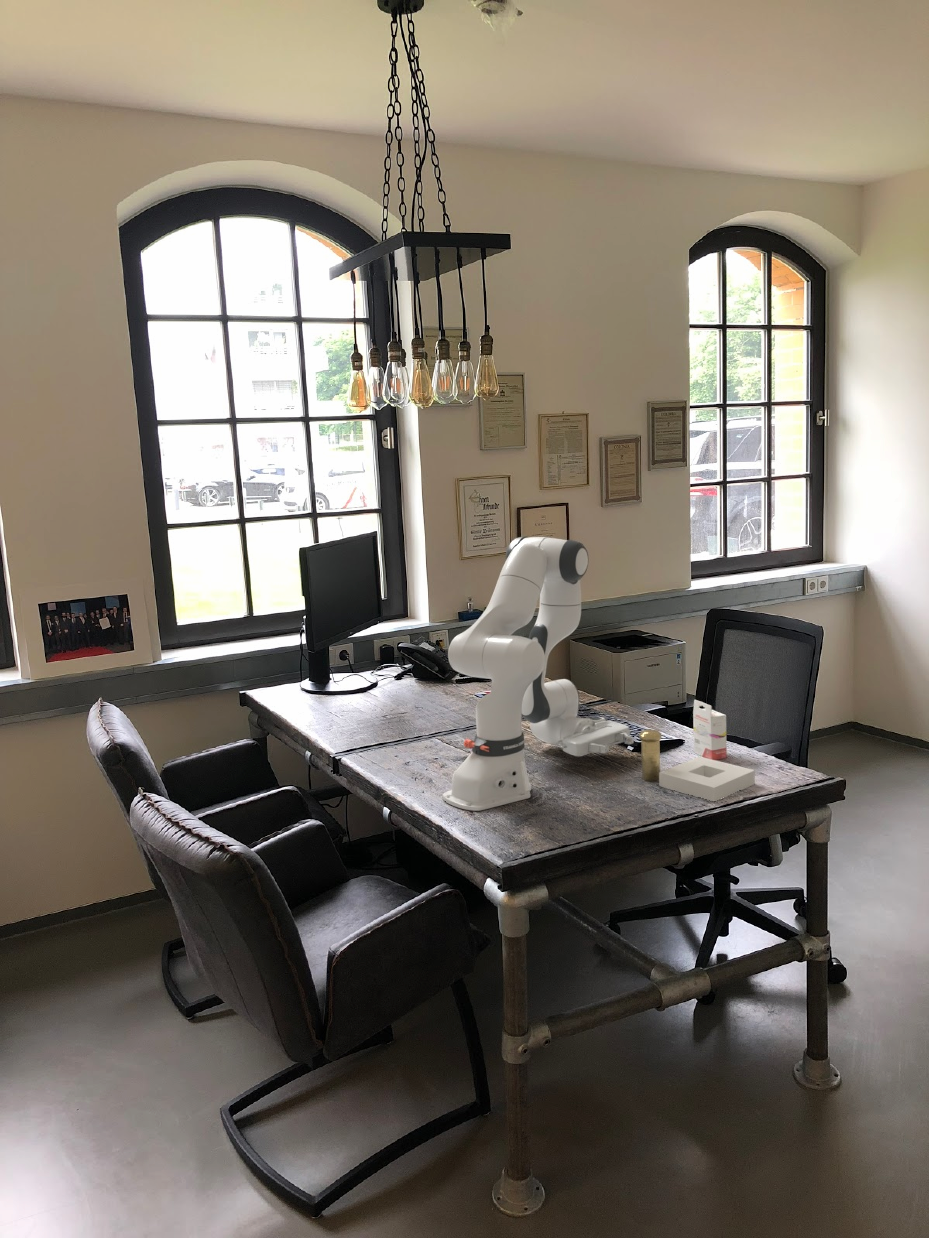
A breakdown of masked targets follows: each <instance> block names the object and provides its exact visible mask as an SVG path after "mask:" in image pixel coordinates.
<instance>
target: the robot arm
mask: <svg viewBox="0 0 929 1238" xmlns="http://www.w3.org/2000/svg"><path fill="white" fill-rule="evenodd" d="M588 553H589V552H588V550H587V549H586V547H585V544H584V543H582V542H580V541H577V540H573V539H568V540H566V539H561V538H555V537H550V536H532V537H531V536H530V537H529V536H519V537H515V538H514V539H513V540H512V541H510V543H509V544H508V546H507V547H506V552H505V562H504V564H503V566H502V568H501V571H500V573H499V576H498V579H497V581H496V585H495V587H494V590H493V593H492V595H491V597H490V601H489V603H488V605H487V606H486V608H485V610H484V611H483V612H482V614H481V615H480V616H479V618H478V619H477V620H476V621H475V622H474V623H473V624H472V625H470V627H469V628H467V629H466V630H464V631H463V632H461V633H459V634H457V635H456V636H454V638H453V639H451V642H450V644H449V647H448V650H447V658H448V662H449V665H450V667H451V668H452V669H453V670H454V671H455V672H458V673H459V674H462V675H465V676H468V677H472V678H479V679H489V680H491V689H490V692H489V693H487V694H485V695H483V696H482V697H481V698H480V699H479V700H478V702H477V703H476V705H475V724H476V725H475V726H476V734H475V736H474V740H471V739H468V738H466V739H464V741H463V746H464V747H465V748H468V749H471V752H470V754H469V755H468V756H467V757H466V758H465V760H464V761H463V762H462V763H461V764H460V765H459V767H458V768H457V769H456V770H454V772H453V775H452V778H451V789H450V790H447V791H446V792H444V793H442V797H443V798H442V800H443V801H444V802H445V801H446V802H445V803H447V804H449V805H452V806H453V807H456V808H459V809H463V810H467V811H475V812H476V811H477V812H479V811H484V810H488V809H492V808H496V807H499V806H503V805H508V804H511V803H515V802H519V801H522V800H527V799H529V798H531V790H532V785H531V783H530V779H529V776H528V773H527V766H526V761H525V753H524V749H525V747H526V745H525V742H526V741H525V733H524V732H523V723H522V721H523V719H522V718H524V720H526V721H527V722H528V723H529V727H530V732H532V733H531V734H532V735H533V736H535V738H537V739H538V740H540V741H542V742H544V743H546V744H548V745H552V746H556V747H557V748H561V749H562V751H563V752H565V753H566V754H569V755H572V756H574V757H584V756H587V755H589V754H592V753H593V754H594V753H597V754H598V753H601V754H607V753H609V752H610V747H612V746H615V745H618V744H621V743H624V744H625V745H628V746H629V745H632V744H634V737H633V736H631V732H630V727H629V726H628V725H626V724H623V723H621V722H617V721H613V720H606V718H605V717H602V716H598V717H589V718H588V717H587V718H586V717H578V716H579V715H578V714H579V709H580V693H579V689H578V688H577V686H576V685H575V684H574V683H573V682H572V681H571V680H570V679H567V678H561V679H555V680H551V681H547V682H545V678H546V673H547V667H548V660H549V656H550V653H551V651H552V650H553V649H554V647H556V645H557V644H558V643H560V642H561V641H562V640H564V639H565V638H567V637H569V636H570V635H571V634H572V633H573V632H574V631H575V630H577V628H578V626H579V624H580V621H581V615H582V588H581V579H582V578H584V576H585V574H586V573H587V569H588V566H589V554H588ZM538 602H539V608H538V614H537V617H536V621H535V623H534V625H533V627H532V628H531V630H530V632H529V634H528V635H529V636H528V637H525V636H521V635H513V634H514V633H515V632H516V631H517V630H519V629H521V628H524V627H525V626H526V625H528V624H529V623H530V622H531V621H532V619H533V617H534V614H535V611H536V608H537V605H538Z"/></svg>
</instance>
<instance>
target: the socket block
mask: <svg viewBox="0 0 929 1238" xmlns="http://www.w3.org/2000/svg"><path fill="white" fill-rule="evenodd" d="M755 771H756V770H755V769H752V768H747V767H743V766H739V765H736V764H735V765H734V764H731V763H727V762H722V761H720V760H712V759H708V758H705V757H703V756H697V757H695V758H692V759H690V760H688V761H685V762H682V763H680V764H678V765H675V766H672V767H670V768H667V769H664V770H662V771H660V772H659V780H658V782H659V783H658V784H659V787H660V788H664V789H666V790H667V789H668V790H672V791H674V790H675V792H677V793H678V792H679V793H682V794H685V795H688V794H689V796H691V795H693V796H692V797H696V798H698V797H702V798H704V799H703V800H705V799H707V800H706V801H709V800H710V801H709V802H712V801H716V802H718V801H720V800H719V799H721V798H723V797H725V798H727V797H729V796H731V795H730V794H732V795H734V794H736V793H738V792H740V791H739V790H741V791H742V790H745V789H748V788H750V787H751V786H754V785H755V784H756V776H755V775H756V772H755ZM737 791H738V792H737ZM735 792H736V793H735ZM733 793H734V794H733ZM728 795H729V796H728ZM702 798H701V799H702ZM723 799H724V798H723ZM717 800H718V801H717ZM721 800H722V799H721Z"/></svg>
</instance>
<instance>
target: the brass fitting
mask: <svg viewBox="0 0 929 1238" xmlns="http://www.w3.org/2000/svg"><path fill="white" fill-rule="evenodd" d="M638 739H639V740H640V741H641V742H640V743H641V744H640V745H641V774H642V775H641V778H642V780H643V781H645V782H650V783H651V782H659V772H661V756H660V755H661V754H660V752H661V750H660V748H661V747H660V746H661V745H660V741H661V739H662V732H660V731H659V730H657V729H652V728H651V729H644V730H641V732H639V734H638Z"/></svg>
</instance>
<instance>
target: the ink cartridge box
mask: <svg viewBox="0 0 929 1238" xmlns="http://www.w3.org/2000/svg"><path fill="white" fill-rule="evenodd" d="M700 707H703V708H700ZM692 714H693V715H692V718H693V721H692V722H693V725H692V726H693V753H694V754H697V755H699V757H704V758H708V759H712V760H716V761H719V760H722V759H727V756H728V755H727V752H728V751H727V715H726V714H724V713H721V712H720V711H719V712H718V711H716V710H714V709H713V706H712V705H710V704H707V703H705V702H703V701H700V700H697V699H694V700H693V711H692Z"/></svg>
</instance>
